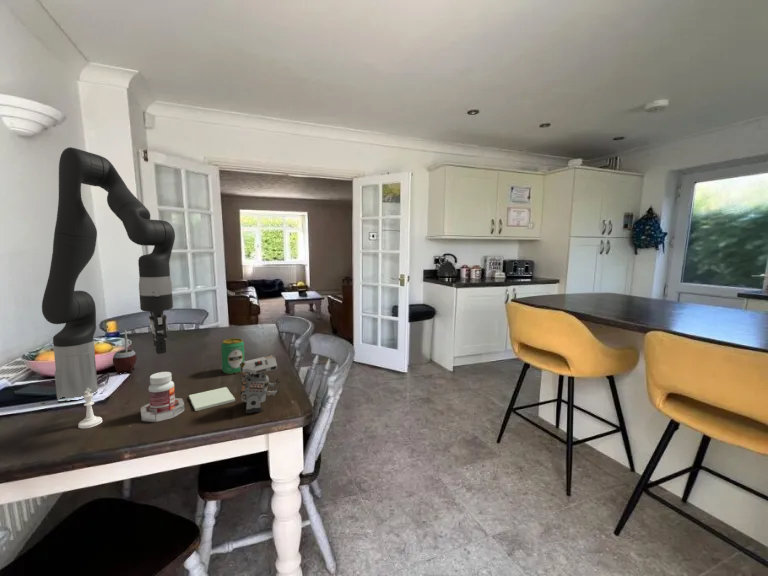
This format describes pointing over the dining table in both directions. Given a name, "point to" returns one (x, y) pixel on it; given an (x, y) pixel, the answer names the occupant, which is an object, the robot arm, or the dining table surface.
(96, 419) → the chess piece
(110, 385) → the dining table surface
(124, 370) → the mate gourd
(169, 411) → the steel collar
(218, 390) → the sage pad
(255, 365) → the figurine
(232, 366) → the beverage can
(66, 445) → the dining table surface
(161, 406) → the pill bottle
